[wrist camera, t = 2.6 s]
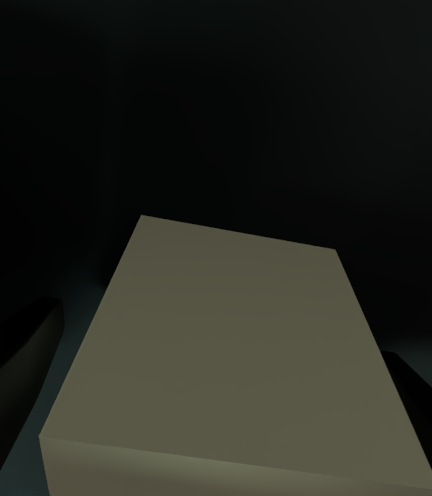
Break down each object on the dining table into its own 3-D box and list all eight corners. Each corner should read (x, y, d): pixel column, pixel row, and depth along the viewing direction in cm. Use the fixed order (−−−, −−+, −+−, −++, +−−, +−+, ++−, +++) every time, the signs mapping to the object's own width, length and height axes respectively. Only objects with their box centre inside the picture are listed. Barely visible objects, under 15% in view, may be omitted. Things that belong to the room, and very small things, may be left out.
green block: (334, 248, 8) (440, 490, 4) (280, 369, 11) (311, 598, 6) (141, 214, 8) (38, 436, 4) (132, 346, 10) (63, 570, 6)
